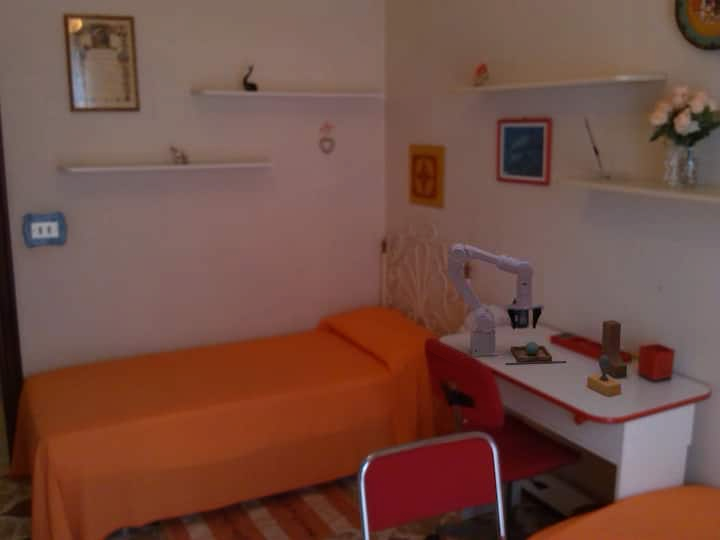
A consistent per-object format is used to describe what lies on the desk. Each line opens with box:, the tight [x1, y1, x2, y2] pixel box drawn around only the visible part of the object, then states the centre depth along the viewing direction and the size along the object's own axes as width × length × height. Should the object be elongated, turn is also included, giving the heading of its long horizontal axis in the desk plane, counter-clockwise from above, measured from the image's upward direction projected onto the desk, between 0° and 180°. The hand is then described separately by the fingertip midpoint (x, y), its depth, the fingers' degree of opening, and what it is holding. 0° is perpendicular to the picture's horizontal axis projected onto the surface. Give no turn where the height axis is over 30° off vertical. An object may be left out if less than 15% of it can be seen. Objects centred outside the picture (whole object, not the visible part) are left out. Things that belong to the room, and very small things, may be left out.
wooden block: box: [601, 319, 628, 379], centre depth 243 cm, size 9×4×18 cm, turn 13°
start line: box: [505, 360, 567, 366], centre depth 258 cm, size 22×1×1 cm, turn 89°
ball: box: [524, 341, 539, 355], centre depth 265 cm, size 5×5×5 cm
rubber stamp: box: [586, 355, 622, 397], centre depth 230 cm, size 10×6×12 cm, turn 22°
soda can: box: [511, 297, 530, 329], centre depth 301 cm, size 7×7×12 cm
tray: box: [510, 345, 553, 363], centre depth 265 cm, size 13×13×2 cm
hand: (523, 328), depth 267 cm, fingers open, 7 cm apart
